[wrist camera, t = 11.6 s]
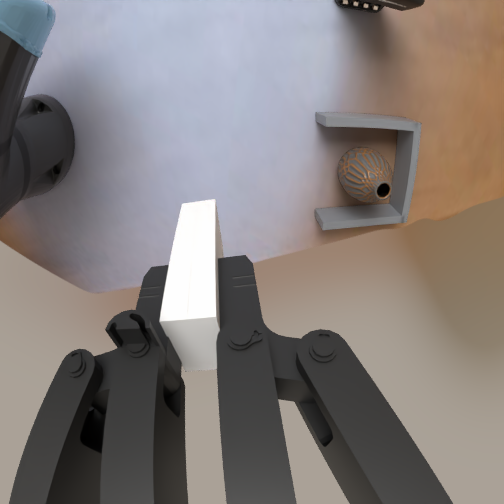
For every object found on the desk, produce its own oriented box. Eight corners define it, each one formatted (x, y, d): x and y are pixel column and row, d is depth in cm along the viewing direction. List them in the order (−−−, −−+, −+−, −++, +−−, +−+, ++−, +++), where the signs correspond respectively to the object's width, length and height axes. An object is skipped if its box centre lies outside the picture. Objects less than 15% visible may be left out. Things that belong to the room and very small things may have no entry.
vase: (382, 152, 34) (416, 175, 27) (363, 193, 38) (391, 223, 31) (342, 134, 33) (373, 153, 25) (324, 179, 36) (347, 208, 29)
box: (314, 216, 40) (322, 230, 36) (315, 112, 31) (325, 116, 27) (394, 209, 40) (406, 222, 37) (405, 117, 31) (421, 123, 28)
